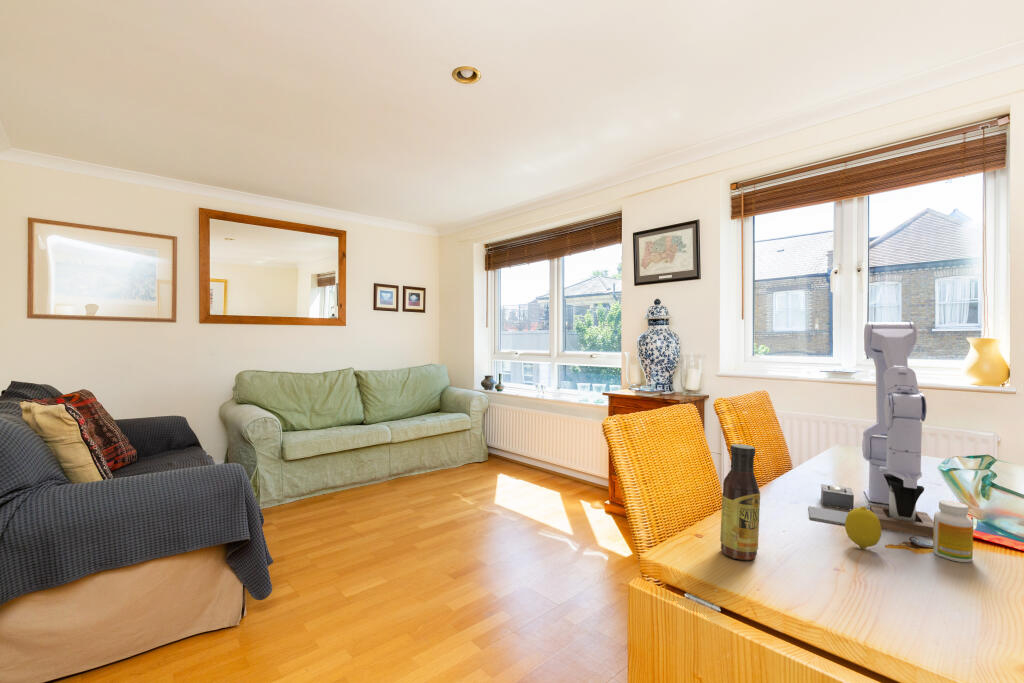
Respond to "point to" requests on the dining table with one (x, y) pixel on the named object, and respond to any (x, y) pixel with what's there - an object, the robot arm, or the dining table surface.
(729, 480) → the sauce bottle
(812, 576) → the dining table surface
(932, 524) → the walnut housing
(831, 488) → the plunger button
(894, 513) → the cylinder
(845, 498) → the plunger collar
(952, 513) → the supplement bottle
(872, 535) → the lemon
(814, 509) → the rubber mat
